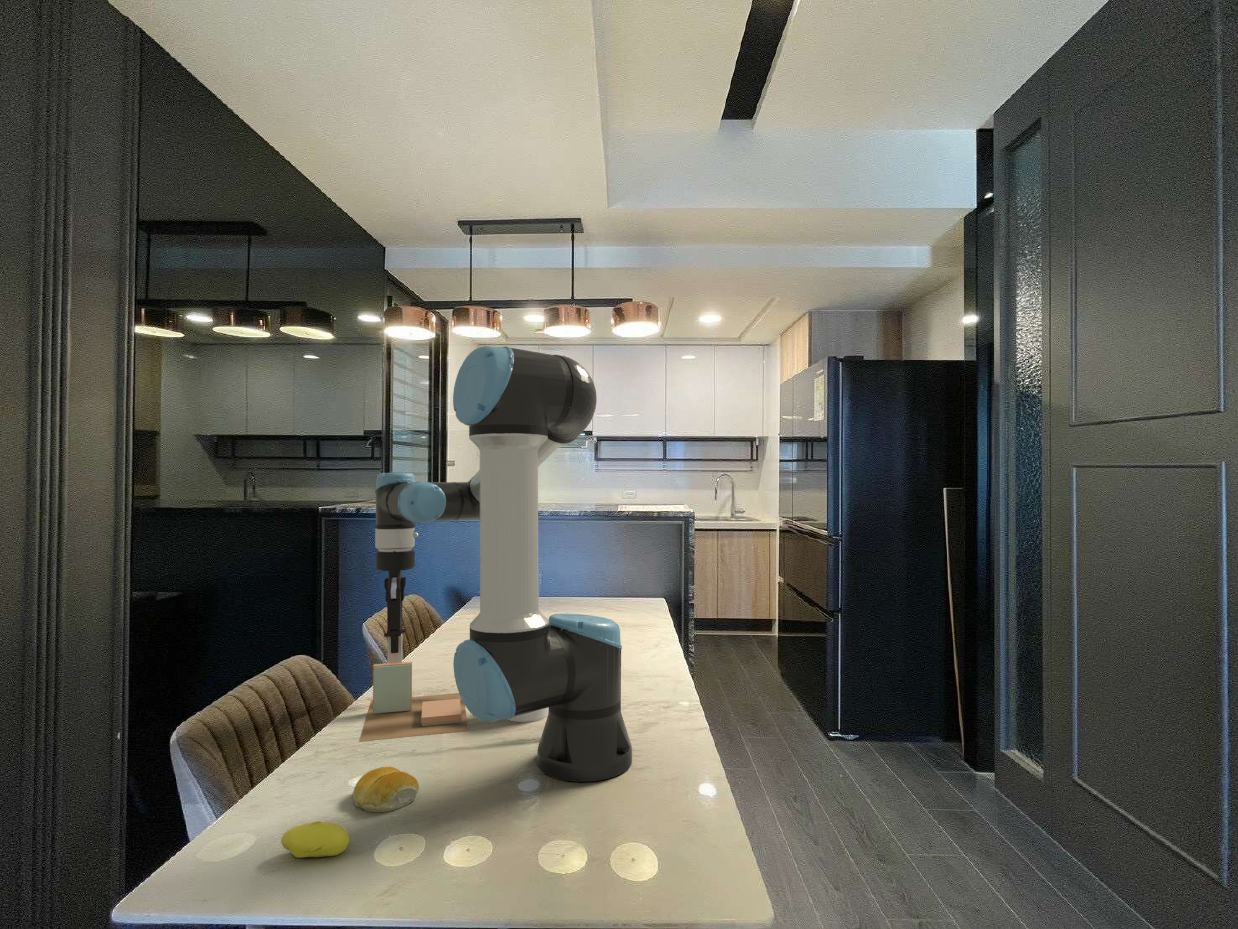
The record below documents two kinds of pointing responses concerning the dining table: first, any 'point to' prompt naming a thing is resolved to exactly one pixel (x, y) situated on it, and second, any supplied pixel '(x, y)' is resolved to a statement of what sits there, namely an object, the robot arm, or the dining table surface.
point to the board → (409, 721)
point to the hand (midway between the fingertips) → (394, 667)
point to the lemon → (316, 839)
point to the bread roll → (385, 790)
